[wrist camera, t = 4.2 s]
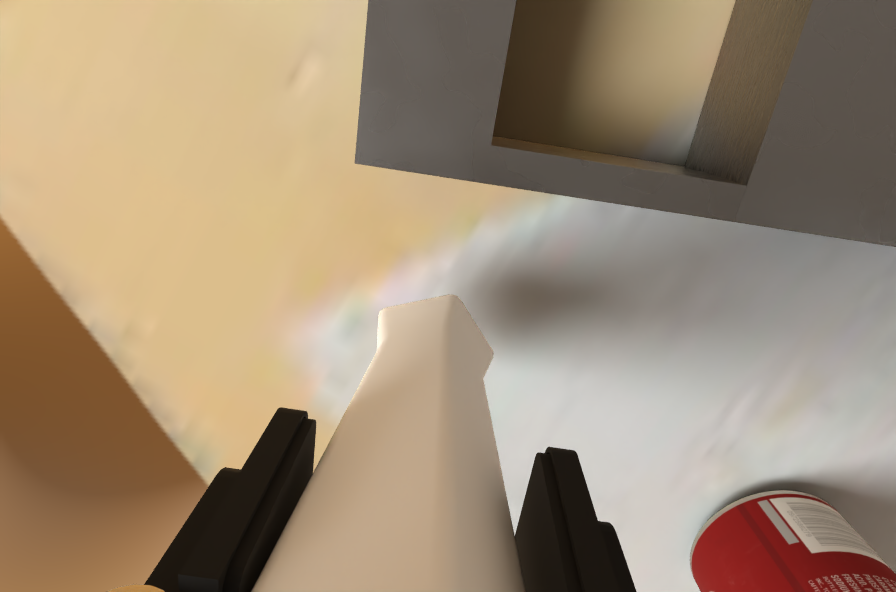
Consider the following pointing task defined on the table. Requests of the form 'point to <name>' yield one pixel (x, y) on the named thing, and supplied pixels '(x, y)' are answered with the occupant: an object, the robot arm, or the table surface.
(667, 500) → the table surface
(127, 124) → the table surface
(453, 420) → the perfume bottle
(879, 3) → the grey block with hole
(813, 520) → the soda can
